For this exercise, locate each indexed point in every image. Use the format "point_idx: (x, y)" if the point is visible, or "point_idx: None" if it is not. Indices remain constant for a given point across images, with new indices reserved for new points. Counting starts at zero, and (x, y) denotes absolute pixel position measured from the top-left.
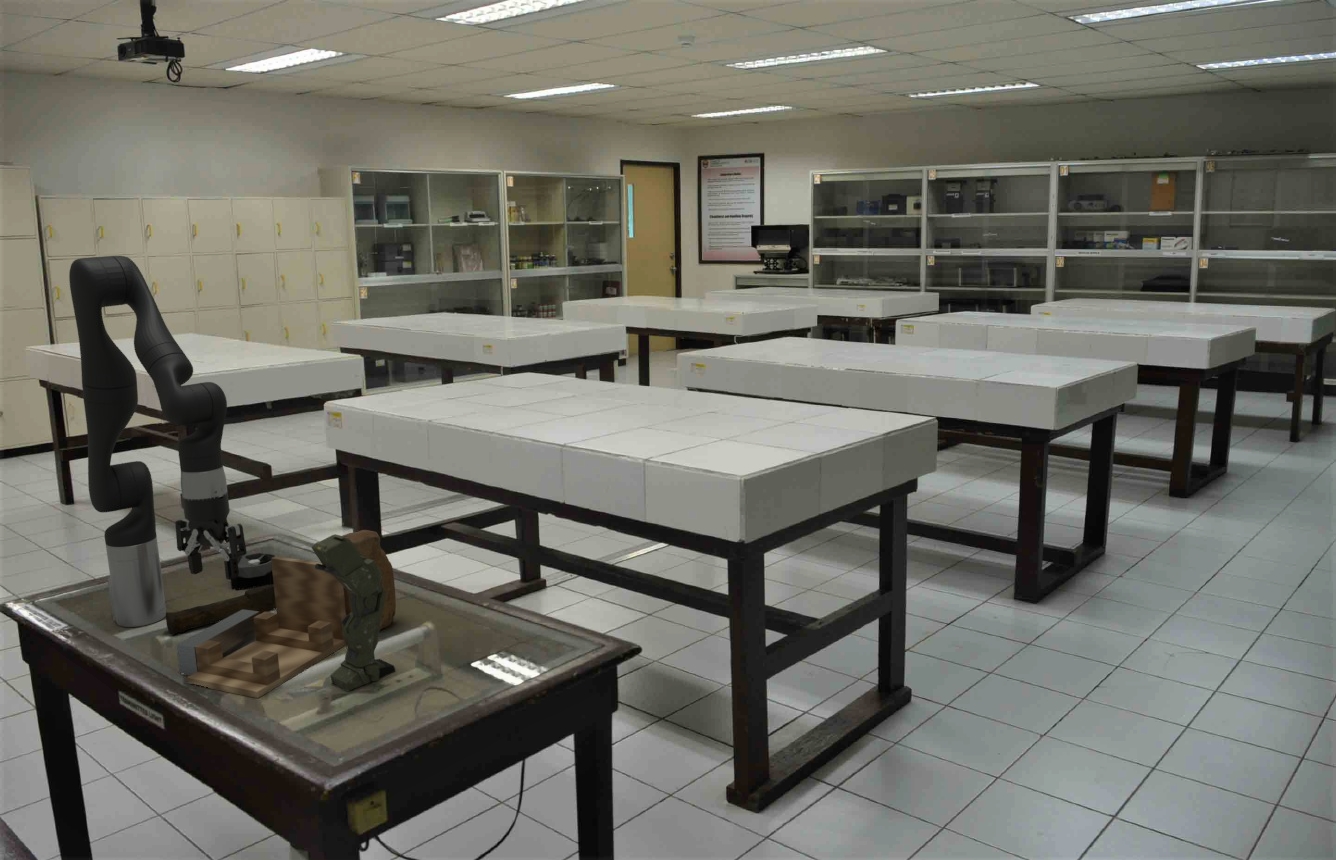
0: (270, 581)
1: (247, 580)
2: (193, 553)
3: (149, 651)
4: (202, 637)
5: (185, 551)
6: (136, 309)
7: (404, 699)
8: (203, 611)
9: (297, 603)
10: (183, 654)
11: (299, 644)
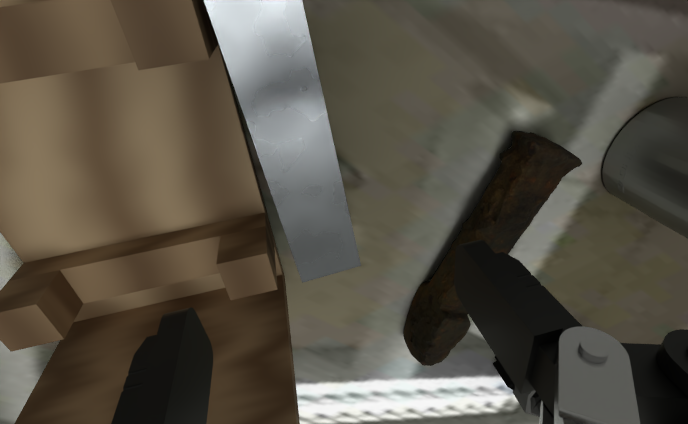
0: (500, 364)
1: None
2: (545, 365)
3: (505, 36)
4: (269, 71)
5: (617, 351)
6: None
7: None
8: (495, 220)
9: None
10: None
11: (104, 252)
